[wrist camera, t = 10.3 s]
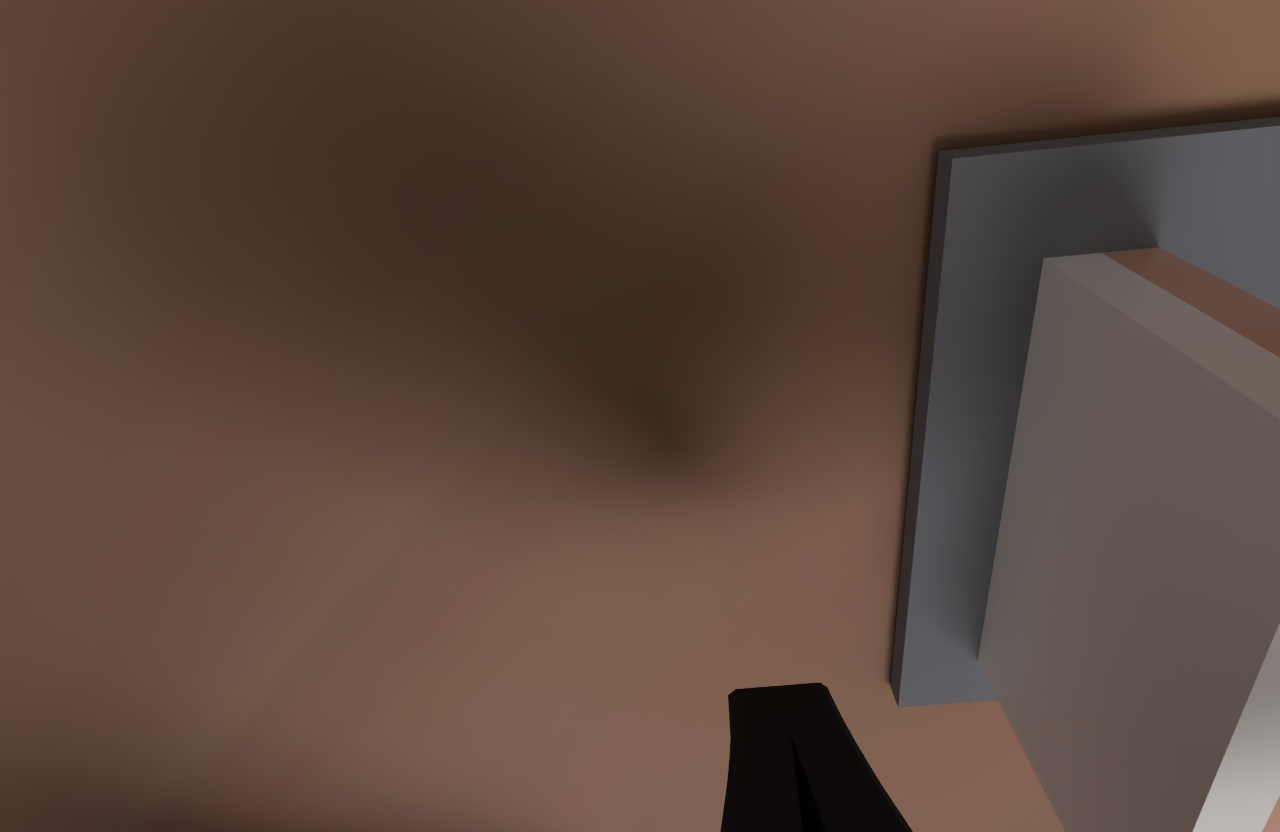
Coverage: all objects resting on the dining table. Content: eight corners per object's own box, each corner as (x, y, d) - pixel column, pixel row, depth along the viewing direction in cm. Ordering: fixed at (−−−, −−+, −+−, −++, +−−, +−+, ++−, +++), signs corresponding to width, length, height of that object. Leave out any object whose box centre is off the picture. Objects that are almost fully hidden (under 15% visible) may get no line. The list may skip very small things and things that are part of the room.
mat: (1333, 651, 18) (1354, 671, 17) (890, 685, 18) (898, 707, 18) (1604, 84, 12) (1649, 88, 11) (938, 150, 12) (952, 158, 12)
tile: (1062, 653, 17) (1259, 960, 12) (977, 660, 17) (1135, 968, 12) (1159, 246, 12) (1547, 446, 7) (1043, 258, 12) (1346, 464, 7)
